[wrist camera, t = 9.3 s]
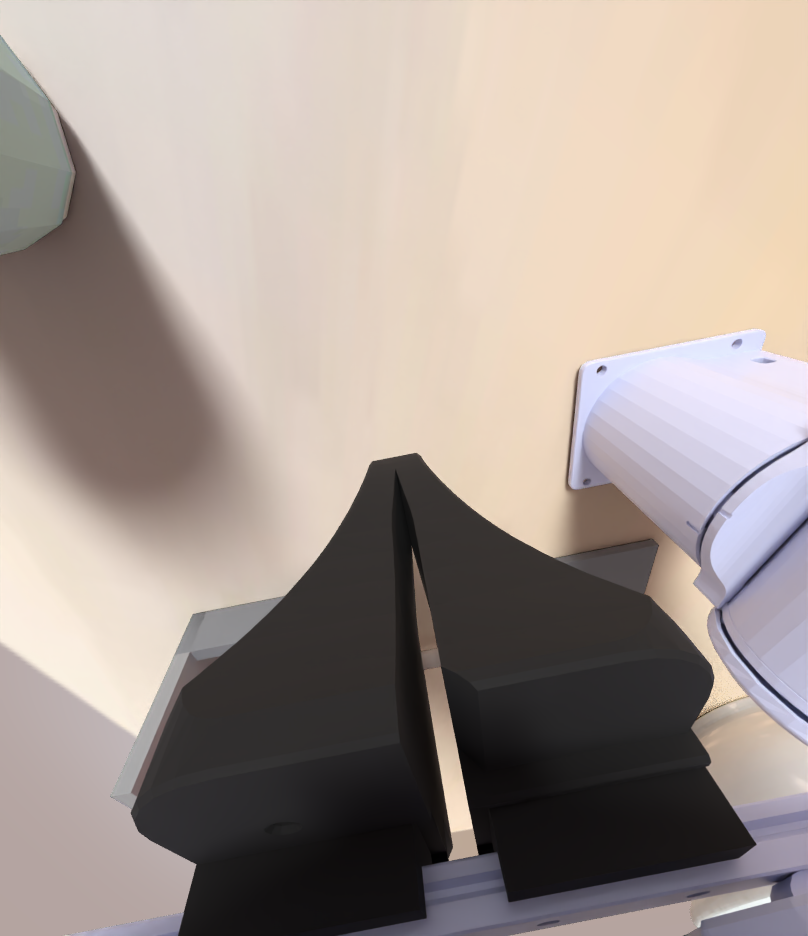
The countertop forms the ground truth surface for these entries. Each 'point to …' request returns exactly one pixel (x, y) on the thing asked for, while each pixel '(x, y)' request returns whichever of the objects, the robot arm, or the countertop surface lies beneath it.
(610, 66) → the countertop surface
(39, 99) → the disposable coffee cup
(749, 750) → the bowl
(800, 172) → the countertop surface
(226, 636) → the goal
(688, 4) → the countertop surface
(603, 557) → the flat gray panel
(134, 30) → the countertop surface
